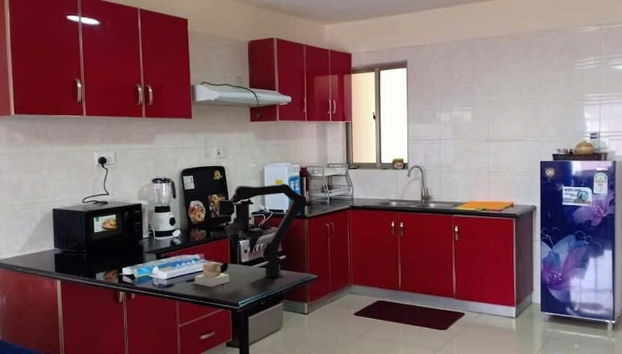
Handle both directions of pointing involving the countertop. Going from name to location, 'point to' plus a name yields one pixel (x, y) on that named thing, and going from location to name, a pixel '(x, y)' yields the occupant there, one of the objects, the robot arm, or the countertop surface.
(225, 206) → the robot arm
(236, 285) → the countertop surface
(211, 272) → the birch cube
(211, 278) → the riser
